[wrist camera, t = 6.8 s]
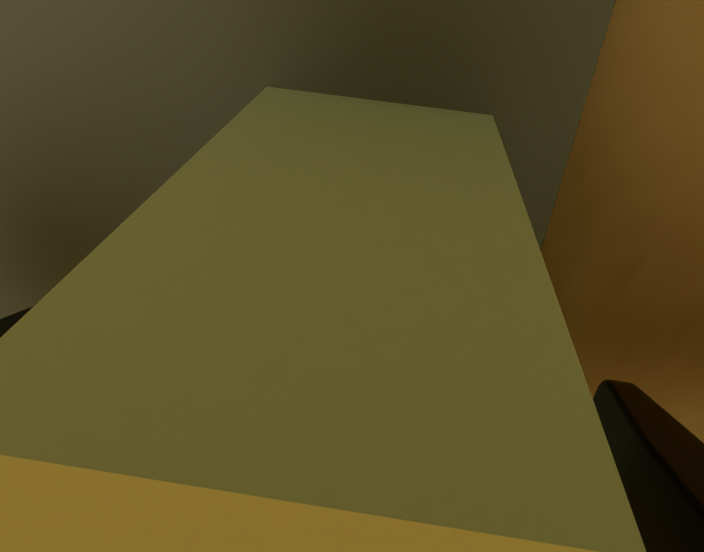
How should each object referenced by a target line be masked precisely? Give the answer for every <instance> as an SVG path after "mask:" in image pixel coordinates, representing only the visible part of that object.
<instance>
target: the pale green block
mask: <svg viewBox="0 0 704 552" xmlns="http://www.w3.org/2000/svg"><path fill="white" fill-rule="evenodd" d="M0 552H646V549H645V547H644V544H643V541H642V538H641V535H640V532H639V529H638V527H637V524H636V521H635V518H634V515H633V512H632V510H631V507H630V504H629V501H628V498H627V495H626V492H625V490H624V487H623V484H622V481H621V478H620V475H619V473H618V470H617V467H616V464H615V461H614V458H613V455H612V453H611V450H610V447H609V444H608V441H607V438H606V436H605V433H604V430H603V427H602V424H601V421H600V419H599V416H598V413H597V410H596V407H595V404H594V401H593V399H592V396H591V393H590V390H589V387H588V384H587V382H586V379H585V376H584V373H583V370H582V367H581V364H580V362H579V359H578V356H577V353H576V350H575V347H574V345H573V342H572V339H571V336H570V333H569V330H568V327H567V325H566V322H565V319H564V316H563V313H562V310H561V308H560V305H559V302H558V299H557V296H556V293H555V291H554V288H553V285H552V282H551V279H550V276H549V273H548V271H547V268H546V265H545V262H544V259H543V256H542V254H541V251H540V248H539V245H538V242H537V239H536V236H535V234H534V231H533V228H532V225H531V222H530V219H529V217H528V214H527V211H526V208H525V205H524V202H523V200H522V197H521V194H520V191H519V188H518V185H517V182H516V180H515V177H514V174H513V171H512V168H511V165H510V163H509V160H508V157H507V154H506V151H505V148H504V145H503V143H502V140H501V137H500V134H499V131H498V128H497V126H496V123H495V120H494V117H493V115H487V114H479V113H471V112H463V111H455V110H447V109H439V108H432V107H424V106H416V105H408V104H400V103H392V102H384V101H377V100H369V99H361V98H353V97H345V96H337V95H329V94H321V93H314V92H306V91H298V90H290V89H282V88H274V87H266V88H265V89H264V90H263V91H262V92H261V93H260V94H259V95H257V96H256V97H255V98H254V99H253V100H252V101H251V102H250V103H249V104H248V105H247V106H246V107H245V108H244V109H243V110H242V111H240V112H239V113H238V114H237V115H236V116H235V117H234V118H233V119H232V120H231V121H230V122H229V123H228V124H227V125H226V126H225V127H224V128H222V129H221V130H220V131H219V132H218V133H217V134H216V135H215V136H214V137H213V138H212V139H211V140H210V141H209V142H208V143H207V144H205V145H204V146H203V147H202V148H201V149H200V150H199V151H198V152H197V153H196V154H195V155H194V156H193V157H192V158H191V159H190V160H189V161H187V162H186V163H185V164H184V165H183V166H182V167H181V168H180V169H179V170H178V171H177V172H176V173H175V174H174V175H173V176H172V177H171V178H169V179H168V180H167V181H166V182H165V183H164V184H163V185H162V186H161V187H160V188H159V189H158V190H157V191H156V192H155V193H154V194H152V195H151V196H150V197H149V198H148V199H147V200H146V201H145V202H144V203H143V204H142V205H141V206H140V207H139V208H138V209H137V210H136V211H134V212H133V213H132V214H131V215H130V216H129V217H128V218H127V219H126V220H125V221H124V222H123V223H122V224H121V225H120V226H119V227H117V228H116V229H115V230H114V231H113V232H112V233H111V234H110V235H109V236H108V237H107V238H106V239H105V240H104V241H103V242H102V243H101V244H99V245H98V246H97V247H96V248H95V249H94V250H93V251H92V252H91V253H90V254H89V255H88V256H87V257H86V258H85V259H84V260H82V261H81V262H80V263H79V264H78V265H77V266H76V267H75V268H74V269H73V270H72V271H71V272H70V273H69V274H68V275H67V276H66V277H64V278H63V279H62V280H61V281H60V282H59V283H58V284H57V285H56V286H55V287H54V288H53V289H52V290H51V291H50V292H49V293H47V294H46V295H45V296H44V297H43V298H42V299H41V300H40V301H39V302H38V303H37V304H36V305H35V306H34V307H33V308H32V309H31V310H29V311H28V312H27V313H26V314H25V315H24V316H23V317H22V318H21V319H20V320H19V321H18V322H17V323H16V324H15V325H14V326H12V327H11V328H10V329H9V330H8V331H7V332H6V333H5V334H4V335H3V336H2V337H1V338H0Z"/></svg>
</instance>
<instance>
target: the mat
mask: <svg viewBox="0 0 704 552" xmlns="http://www.w3.org/2000/svg"><path fill="white" fill-rule="evenodd" d="M615 1H616V0H0V319H1V318H4V317H6V316H9V315H12V314H14V313H17V312H19V311H22V310H24V309H27V308H29V307H32V306H35V305H36V304H37V303H38V302H39V301H40V300H41V299H42V298H43V297H44V296H45V295H46V294H47V293H49V292H50V291H51V290H52V289H53V288H54V287H55V286H56V285H57V284H58V283H59V282H60V281H61V280H62V279H63V278H64V277H66V276H67V275H68V274H69V273H70V272H71V271H72V270H73V269H74V268H75V267H76V266H77V265H78V264H79V263H80V262H81V261H82V260H84V259H85V258H86V257H87V256H88V255H89V254H90V253H91V252H92V251H93V250H94V249H95V248H96V247H97V246H98V245H99V244H101V243H102V242H103V241H104V240H105V239H106V238H107V237H108V236H109V235H110V234H111V233H112V232H113V231H114V230H115V229H116V228H117V227H119V226H120V225H121V224H122V223H123V222H124V221H125V220H126V219H127V218H128V217H129V216H130V215H131V214H132V213H133V212H134V211H136V210H137V209H138V208H139V207H140V206H141V205H142V204H143V203H144V202H145V201H146V200H147V199H148V198H149V197H150V196H151V195H152V194H154V193H155V192H156V191H157V190H158V189H159V188H160V187H161V186H162V185H163V184H164V183H165V182H166V181H167V180H168V179H169V178H171V177H172V176H173V175H174V174H175V173H176V172H177V171H178V170H179V169H180V168H181V167H182V166H183V165H184V164H185V163H186V162H187V161H189V160H190V159H191V158H192V157H193V156H194V155H195V154H196V153H197V152H198V151H199V150H200V149H201V148H202V147H203V146H204V145H205V144H207V143H208V142H209V141H210V140H211V139H212V138H213V137H214V136H215V135H216V134H217V133H218V132H219V131H220V130H221V129H222V128H224V127H225V126H226V125H227V124H228V123H229V122H230V121H231V120H232V119H233V118H234V117H235V116H236V115H237V114H238V113H239V112H240V111H242V110H243V109H244V108H245V107H246V106H247V105H248V104H249V103H250V102H251V101H252V100H253V99H254V98H255V97H256V96H257V95H259V94H260V93H261V92H262V91H263V90H264V89H265V88H266V87H274V88H282V89H290V90H298V91H306V92H314V93H321V94H329V95H337V96H345V97H353V98H361V99H369V100H377V101H384V102H392V103H400V104H408V105H416V106H424V107H432V108H439V109H447V110H455V111H463V112H471V113H479V114H487V115H493V117H494V120H495V123H496V126H497V128H498V131H499V134H500V137H501V140H502V143H503V145H504V148H505V151H506V154H507V157H508V160H509V163H510V165H511V168H512V171H513V174H514V177H515V180H516V182H517V185H518V188H519V191H520V194H521V197H522V200H523V202H524V205H525V208H526V211H527V214H528V217H529V219H530V222H531V225H532V228H533V231H534V234H535V236H536V239H537V242H538V245H539V248H540V251H541V247H542V244H543V241H544V237H545V234H546V231H547V227H548V224H549V221H550V217H551V214H552V211H553V207H554V204H555V201H556V197H557V194H558V191H559V187H560V184H561V181H562V177H563V174H564V171H565V167H566V164H567V161H568V157H569V154H570V151H571V147H572V144H573V141H574V137H575V134H576V131H577V127H578V124H579V121H580V117H581V114H582V111H583V107H584V104H585V101H586V97H587V94H588V91H589V88H590V84H591V81H592V78H593V74H594V71H595V68H596V64H597V61H598V58H599V54H600V51H601V48H602V44H603V41H604V38H605V34H606V31H607V28H608V24H609V21H610V18H611V14H612V11H613V8H614V4H615Z"/></svg>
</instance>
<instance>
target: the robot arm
mask: <svg viewBox="0 0 704 552" xmlns="http://www.w3.org/2000/svg"><path fill="white" fill-rule="evenodd" d="M33 307H34V306H32V307H29V308H27V309H24V310H22V311H19V312H17V313H14V314H12V315H9V316H6V317H4V318H1V319H0V338H1V337H2V336H3V335H4V334H5V333H6V332H7V331H8V330H9V329H10V328H11V327H12V326H14V325H15V324H16V323H17V322H18V321H19V320H20V319H21V318H22V317H23V316H24V315H25V314H26V313H27V312H28V311H29V310H31V309H32V308H33ZM593 401H594V404H595V407H596V410H597V413H598V416H599V419H600V421H601V424H602V427H603V430H604V433H605V436H606V438H607V441H608V444H609V447H610V450H611V453H612V455H613V458H614V461H615V464H616V467H617V470H618V473H619V475H620V478H621V481H622V484H623V487H624V490H625V492H626V495H627V498H628V501H629V504H630V507H631V510H632V512H633V515H634V518H635V521H636V524H637V527H638V529H639V532H640V535H641V538H642V541H643V544H644V547H645V549H646V552H704V443H703V442H702V441H700V440H699V439H698V438H697V437H696V436H695V435H693V434H692V433H691V432H690V431H689V430H688V429H686V428H685V427H684V426H683V425H682V424H680V423H679V422H678V421H677V420H676V419H675V418H673V417H672V416H671V415H670V414H669V413H668V412H666V411H665V410H664V409H663V408H662V407H661V406H659V405H658V404H657V403H656V402H655V401H654V400H652V399H651V398H650V397H649V396H648V395H646V394H645V393H644V392H643V391H642V390H641V389H639V388H638V387H637V386H636V385H634V384H632V383H628V382H622V381H615V380H605V381H602V382H601V384H600V385H599V387H598V389H597V391H596V393H595V396H594V398H593Z"/></svg>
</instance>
